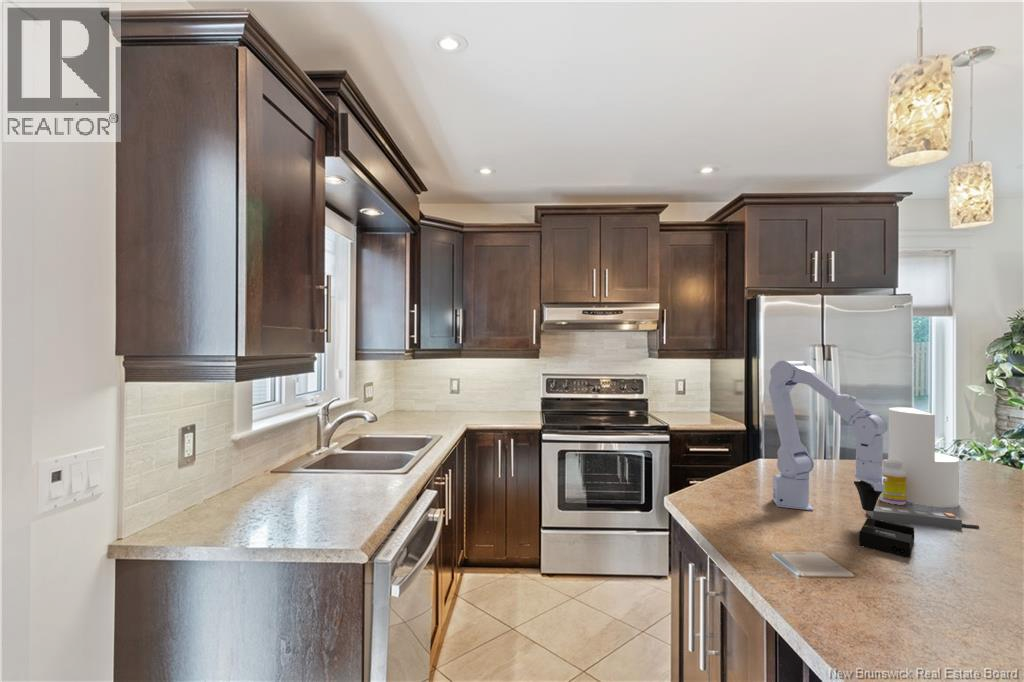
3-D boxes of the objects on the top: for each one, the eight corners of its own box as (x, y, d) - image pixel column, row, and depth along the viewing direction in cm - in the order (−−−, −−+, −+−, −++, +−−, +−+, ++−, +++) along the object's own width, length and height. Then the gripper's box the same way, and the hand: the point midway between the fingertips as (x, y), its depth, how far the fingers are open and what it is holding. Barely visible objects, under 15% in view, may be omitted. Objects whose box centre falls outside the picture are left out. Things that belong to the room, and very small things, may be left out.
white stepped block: (899, 502, 147) (900, 413, 147) (880, 487, 163) (880, 406, 163) (970, 510, 141) (971, 417, 141) (943, 493, 157) (944, 409, 157)
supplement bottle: (911, 506, 144) (911, 464, 144) (886, 504, 145) (886, 463, 145) (897, 499, 151) (898, 459, 151) (874, 497, 152) (874, 457, 152)
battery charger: (910, 560, 109) (910, 543, 109) (858, 547, 115) (859, 531, 115) (914, 543, 118) (914, 527, 118) (866, 532, 125) (867, 517, 125)
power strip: (873, 519, 133) (873, 509, 133) (865, 513, 138) (866, 503, 138) (985, 531, 125) (985, 520, 125) (973, 525, 130) (973, 514, 130)
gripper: (899, 468, 119) (898, 521, 119) (875, 454, 133) (874, 503, 133) (866, 465, 121) (865, 518, 121) (846, 452, 135) (845, 500, 135)
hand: (868, 510), depth 127 cm, fingers closed
